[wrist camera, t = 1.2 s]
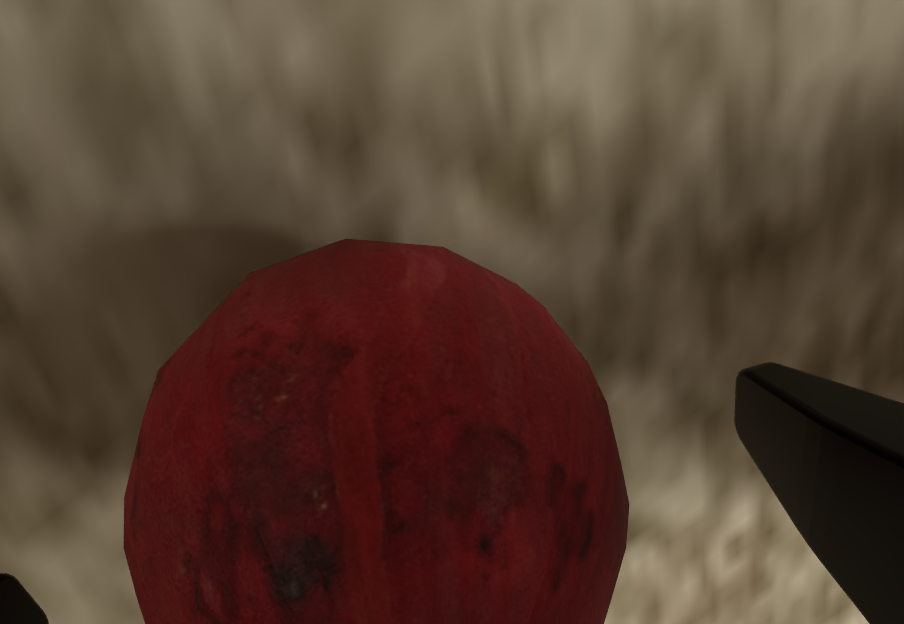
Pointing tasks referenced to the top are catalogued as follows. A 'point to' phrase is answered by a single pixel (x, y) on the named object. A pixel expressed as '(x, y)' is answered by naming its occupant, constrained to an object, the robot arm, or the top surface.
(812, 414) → the robot arm
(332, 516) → the onion
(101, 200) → the top surface
